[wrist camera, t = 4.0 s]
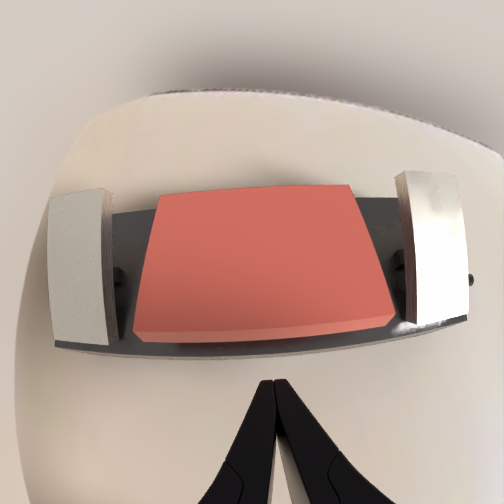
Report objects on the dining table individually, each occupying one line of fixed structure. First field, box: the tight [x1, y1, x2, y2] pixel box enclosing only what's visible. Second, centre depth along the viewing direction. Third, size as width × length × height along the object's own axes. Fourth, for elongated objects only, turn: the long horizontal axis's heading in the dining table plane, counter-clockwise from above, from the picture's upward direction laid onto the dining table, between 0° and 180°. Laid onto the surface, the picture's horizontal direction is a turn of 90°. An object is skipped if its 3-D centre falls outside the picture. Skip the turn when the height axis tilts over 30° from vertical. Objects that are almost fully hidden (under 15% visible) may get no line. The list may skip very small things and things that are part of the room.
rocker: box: [133, 185, 396, 343], centre depth 15 cm, size 9×12×1 cm
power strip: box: [47, 171, 474, 360], centre depth 18 cm, size 10×35×10 cm, turn 93°
